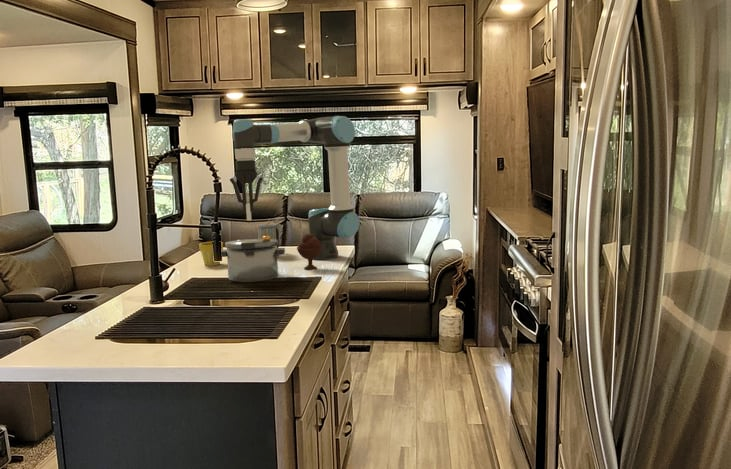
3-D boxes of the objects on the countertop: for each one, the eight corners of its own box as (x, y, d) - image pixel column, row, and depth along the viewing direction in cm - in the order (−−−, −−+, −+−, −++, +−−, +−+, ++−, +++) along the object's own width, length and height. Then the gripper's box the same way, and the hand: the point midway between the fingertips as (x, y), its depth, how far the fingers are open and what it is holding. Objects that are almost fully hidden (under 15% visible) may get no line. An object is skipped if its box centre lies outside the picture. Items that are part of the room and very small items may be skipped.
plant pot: (220, 266, 274) (219, 244, 272) (197, 266, 274) (196, 245, 273) (226, 262, 284) (225, 241, 283) (204, 262, 284) (202, 241, 283)
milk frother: (276, 257, 292) (274, 226, 290) (243, 258, 293) (241, 227, 291) (281, 252, 306) (280, 223, 304) (250, 253, 307) (248, 223, 305)
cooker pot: (286, 270, 261) (285, 242, 259) (283, 280, 241) (282, 250, 240) (225, 272, 260) (223, 244, 258) (216, 283, 240) (215, 252, 238)
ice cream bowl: (293, 270, 260) (291, 235, 258) (305, 265, 270) (304, 231, 268) (315, 271, 256) (314, 236, 254) (327, 266, 266) (326, 232, 264)
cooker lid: (279, 241, 260) (279, 233, 260) (275, 248, 237) (274, 238, 236) (229, 243, 259) (229, 235, 259) (220, 250, 235) (219, 240, 235)
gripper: (263, 158, 242) (266, 218, 246) (229, 160, 241) (233, 219, 245) (261, 159, 235) (264, 220, 238) (226, 160, 234) (231, 221, 238)
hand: (249, 219), depth 242 cm, fingers closed
